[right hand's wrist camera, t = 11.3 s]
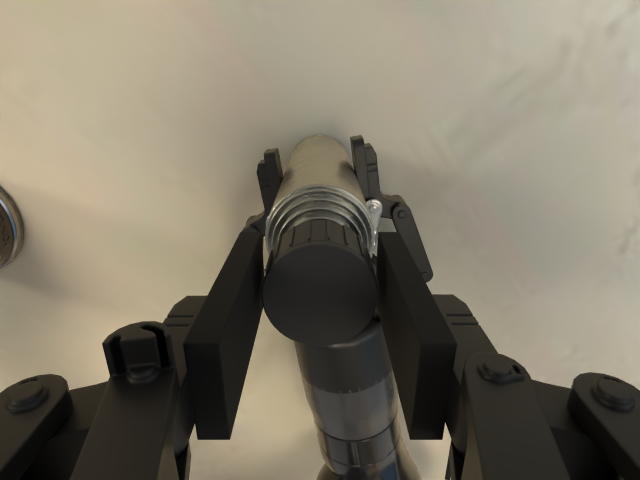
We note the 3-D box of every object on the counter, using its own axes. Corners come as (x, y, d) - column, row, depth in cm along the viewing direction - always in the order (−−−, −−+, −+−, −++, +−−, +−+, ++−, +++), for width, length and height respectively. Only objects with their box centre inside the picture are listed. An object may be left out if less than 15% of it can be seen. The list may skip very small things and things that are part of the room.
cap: (273, 211, 14) (265, 234, 12) (380, 225, 14) (391, 251, 12) (264, 304, 15) (254, 340, 13) (360, 316, 16) (367, 353, 13)
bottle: (294, 130, 31) (252, 212, 12) (354, 139, 31) (408, 234, 12) (287, 189, 33) (240, 343, 14) (344, 197, 33) (377, 359, 14)
